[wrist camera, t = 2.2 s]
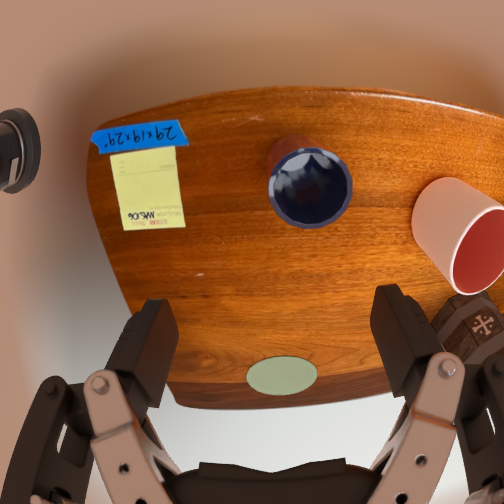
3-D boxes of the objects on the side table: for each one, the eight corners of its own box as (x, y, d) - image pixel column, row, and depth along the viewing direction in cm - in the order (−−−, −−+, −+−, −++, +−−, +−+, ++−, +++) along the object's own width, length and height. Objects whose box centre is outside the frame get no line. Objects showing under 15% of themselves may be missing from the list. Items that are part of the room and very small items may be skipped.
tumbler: (259, 182, 28) (257, 215, 20) (276, 126, 25) (283, 135, 17) (314, 198, 28) (333, 238, 21) (334, 145, 25) (364, 165, 18)
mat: (239, 388, 46) (238, 389, 46) (258, 349, 40) (258, 350, 40) (300, 397, 47) (300, 398, 47) (329, 361, 41) (329, 362, 41)
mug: (418, 350, 40) (445, 419, 28) (443, 290, 34) (490, 365, 21) (489, 331, 39) (519, 384, 26) (514, 278, 32) (557, 331, 19)
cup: (392, 222, 29) (433, 269, 20) (440, 157, 25) (496, 184, 16) (435, 261, 31) (472, 308, 23) (478, 205, 27) (525, 241, 18)
